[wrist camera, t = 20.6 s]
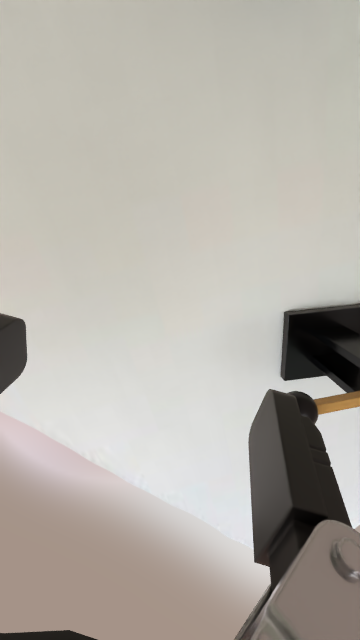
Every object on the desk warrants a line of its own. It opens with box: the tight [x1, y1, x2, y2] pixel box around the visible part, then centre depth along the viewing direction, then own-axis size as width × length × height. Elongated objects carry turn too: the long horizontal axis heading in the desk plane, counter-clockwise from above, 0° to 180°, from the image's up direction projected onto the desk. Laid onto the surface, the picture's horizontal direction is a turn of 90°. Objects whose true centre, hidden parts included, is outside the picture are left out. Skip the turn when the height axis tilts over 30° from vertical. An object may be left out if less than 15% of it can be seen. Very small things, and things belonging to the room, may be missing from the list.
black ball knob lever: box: [287, 391, 360, 424], centre depth 29 cm, size 14×4×4 cm, turn 93°
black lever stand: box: [281, 304, 360, 393], centre depth 35 cm, size 12×10×15 cm
